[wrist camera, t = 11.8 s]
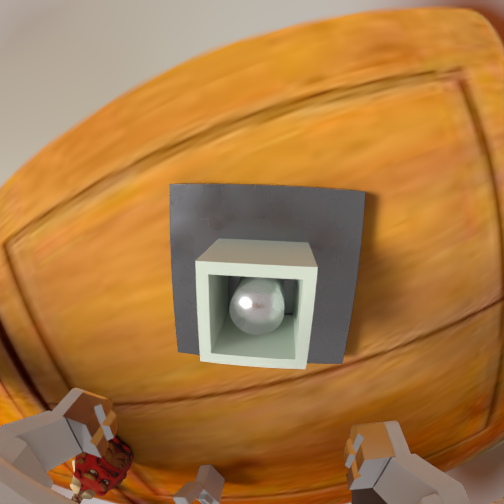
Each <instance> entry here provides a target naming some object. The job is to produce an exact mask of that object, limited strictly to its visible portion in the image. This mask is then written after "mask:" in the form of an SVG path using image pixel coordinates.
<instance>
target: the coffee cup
mask: <svg viewBox="0 0 504 504" xmlns="http://www.w3.org/2000/svg"><path fill="white" fill-rule="evenodd" d="M352 504H387V503H386V502H385V501H384V500H383V499H382V497H381V496H380V495H379V494H378V493H377V492H376V491H375V490H374V489H373V488H365V489H355V490H352Z"/></svg>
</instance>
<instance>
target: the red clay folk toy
mask: <svg viewBox="0 0 504 504" xmlns="http://www.w3.org/2000/svg"><path fill="white" fill-rule="evenodd" d="M108 444H109V447H108V448H107V450H106V451H105V453H104V455H103V456H102V458H100V457H97V456H95V455H92V454H89V453H86V452H84V451H82V453H80V454H78V455H76V459H75V471H74V474H73V475H74V477H75V478H77V479H78V480H79V481H80V482H81V487H80V489H79V492H78V495H76V496H74V497H73V499H74V501H75V502H76V501H78V500H79V496H80V495H81V494H83V493H84V492H85V491H86V490H88V489H90V490H93V491H94V492H95V493H96V494H97V495H99V496H103V495H105V494H106V493H107V491H109V490H111V489H113V488H115V487H116V486H117V485H118V484H120V483H121V482H122V481H123V479H125V477H126V475H127V471H128V470H129V469H130V467H131V462H132V459H133V454H132V453H131V452H130V448H129V447H128V446H126V445H124V444H122V443H121V441H119V439H118V437H116V436H115V437H114V438H112V439H110V440H108Z"/></svg>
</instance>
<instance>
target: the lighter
mask: <svg viewBox="0 0 504 504" xmlns="http://www.w3.org/2000/svg"><path fill="white" fill-rule="evenodd" d="M224 481H225V479H224V478H223V477H222V476H221V475H220V474H219V473H218V472H217V470H216V469H215V468H214V467H213V466H212V465H210V464H209V465H200V468H199V471H198V474H197V478H196V481H192V482H187V483H186V484H185V485H184V486H183V487H182V488H181V489H180V490H179V491H178V492H177V493H175V494H174V495H173V496H172V497H173V499H174V501H175V502H176V504H191V503H192V502H193V501H194V500H195V499H196V498H197V497H198V499H197V500H198V501H200V502H201V503H202V504H219V503H220V499H221V495H222V490H223V486H224Z"/></svg>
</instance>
